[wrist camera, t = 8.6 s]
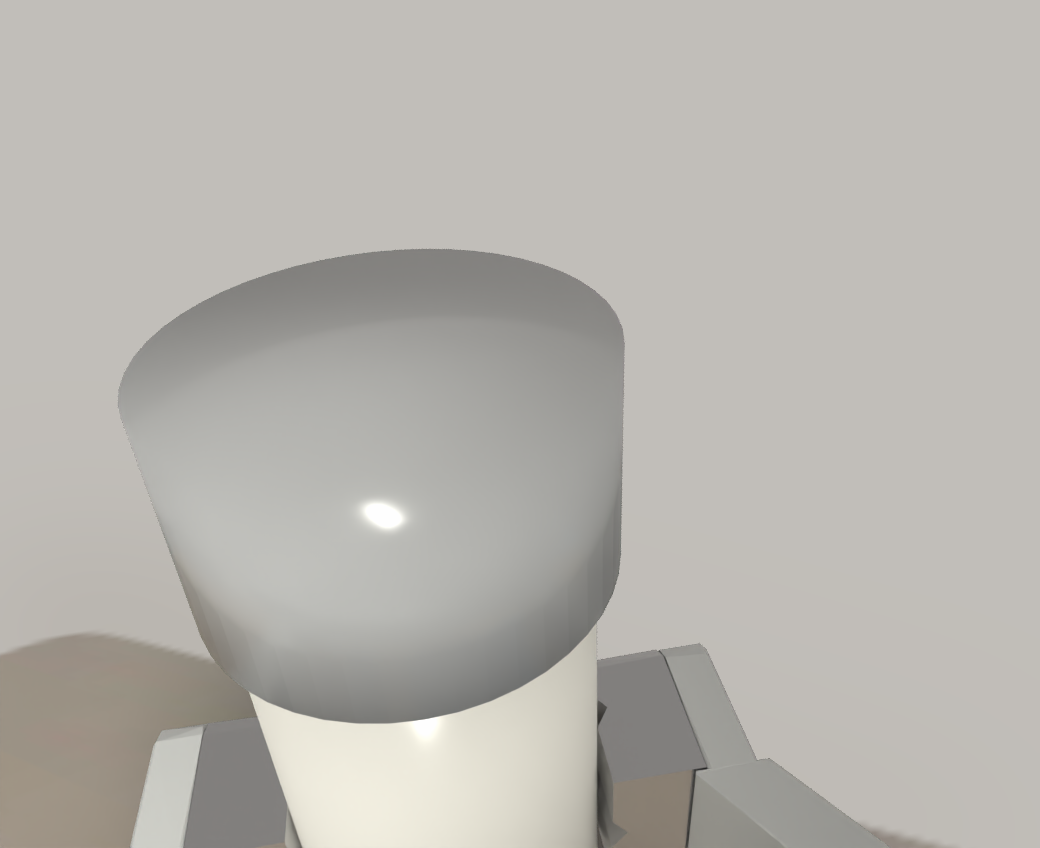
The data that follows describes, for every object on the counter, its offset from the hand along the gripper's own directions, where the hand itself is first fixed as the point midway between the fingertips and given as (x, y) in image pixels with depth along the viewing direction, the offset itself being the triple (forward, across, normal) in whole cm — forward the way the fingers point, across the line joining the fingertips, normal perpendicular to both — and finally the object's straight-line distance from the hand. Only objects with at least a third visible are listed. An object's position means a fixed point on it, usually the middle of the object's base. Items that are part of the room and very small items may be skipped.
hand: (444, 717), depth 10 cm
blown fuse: (-1, 0, +8) cm, 9 cm away
